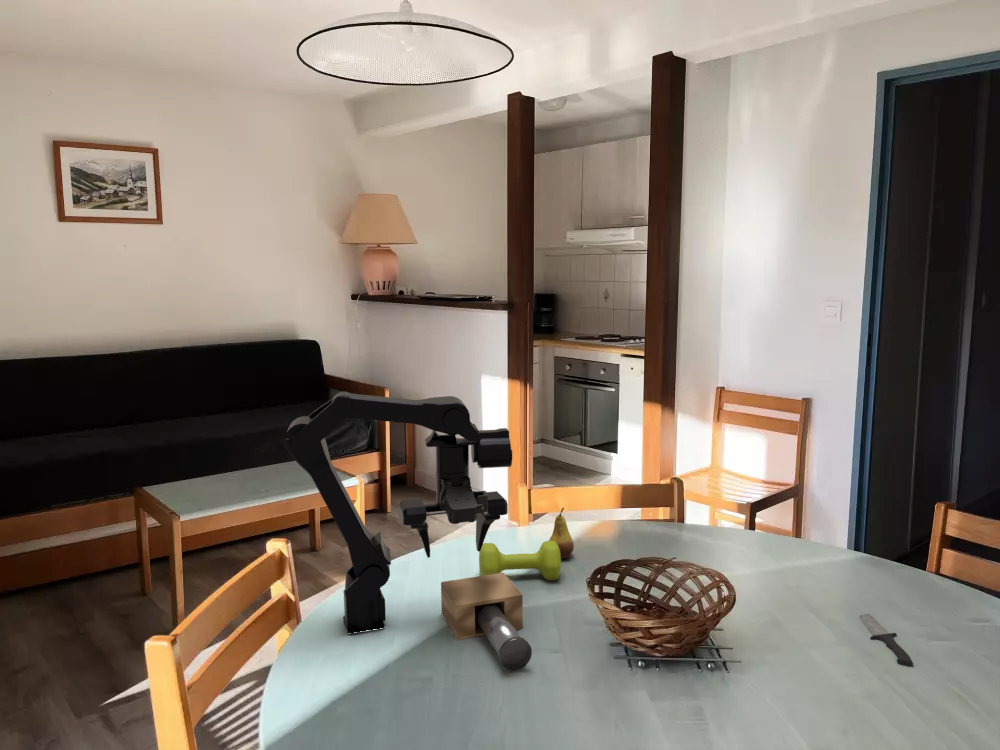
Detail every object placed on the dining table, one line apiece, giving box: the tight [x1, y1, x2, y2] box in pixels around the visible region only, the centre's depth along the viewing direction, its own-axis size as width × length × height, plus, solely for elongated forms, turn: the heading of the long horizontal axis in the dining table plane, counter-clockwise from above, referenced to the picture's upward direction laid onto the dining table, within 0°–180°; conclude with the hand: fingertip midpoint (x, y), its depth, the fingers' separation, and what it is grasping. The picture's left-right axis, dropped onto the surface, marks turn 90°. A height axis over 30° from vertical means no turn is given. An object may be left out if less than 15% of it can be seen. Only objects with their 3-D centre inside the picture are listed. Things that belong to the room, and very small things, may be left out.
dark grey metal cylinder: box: [475, 603, 533, 672], centre depth 126 cm, size 5×15×5 cm, turn 19°
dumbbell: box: [478, 540, 562, 581], centre depth 154 cm, size 16×8×7 cm, turn 94°
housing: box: [440, 572, 524, 641], centre depth 136 cm, size 12×10×6 cm
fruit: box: [548, 507, 575, 559], centre depth 164 cm, size 6×6×12 cm
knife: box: [858, 613, 914, 667], centre depth 131 cm, size 22×1×5 cm
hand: (453, 553), depth 136 cm, fingers open, 9 cm apart
